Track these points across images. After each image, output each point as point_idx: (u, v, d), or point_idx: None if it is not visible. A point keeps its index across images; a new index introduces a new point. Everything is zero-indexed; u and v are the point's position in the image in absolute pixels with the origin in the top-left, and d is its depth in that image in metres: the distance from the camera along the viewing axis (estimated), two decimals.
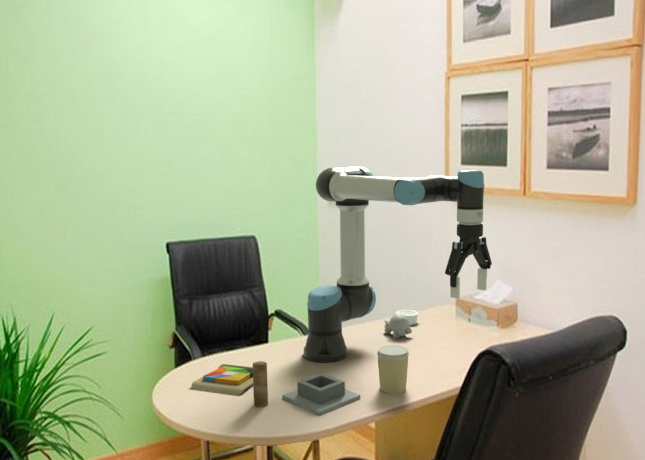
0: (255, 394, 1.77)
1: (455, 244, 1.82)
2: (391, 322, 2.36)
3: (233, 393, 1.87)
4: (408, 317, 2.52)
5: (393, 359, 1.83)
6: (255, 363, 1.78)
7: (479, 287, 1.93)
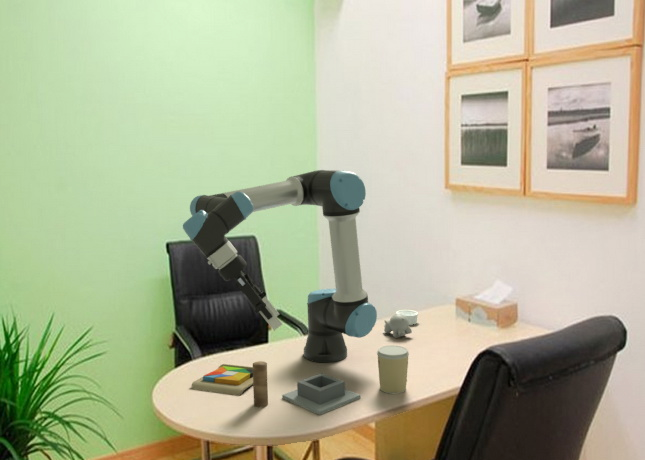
0: (255, 394, 1.77)
1: None
2: (391, 322, 2.36)
3: (233, 393, 1.87)
4: (408, 317, 2.52)
5: (393, 359, 1.83)
6: (255, 363, 1.78)
7: None
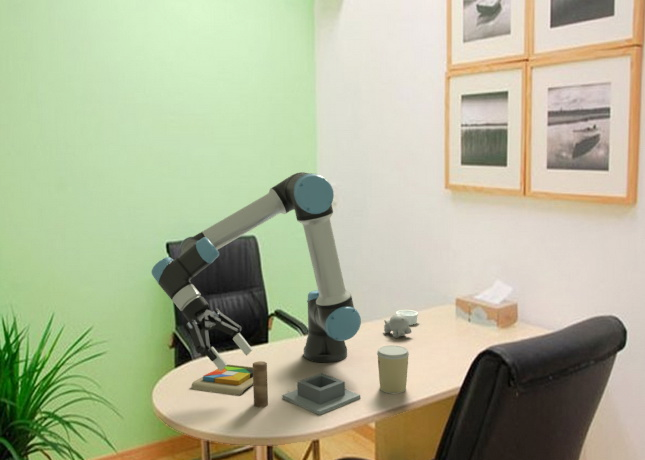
0: (255, 394, 1.77)
1: None
2: (391, 322, 2.36)
3: (233, 393, 1.87)
4: (408, 317, 2.52)
5: (393, 359, 1.83)
6: (255, 363, 1.78)
7: None
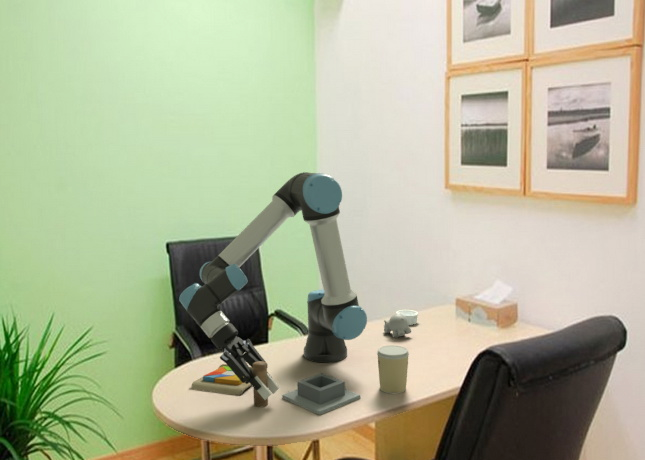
0: (255, 394, 1.77)
1: None
2: (390, 322, 2.36)
3: (233, 393, 1.87)
4: (408, 317, 2.52)
5: (393, 359, 1.83)
6: (255, 363, 1.78)
7: None
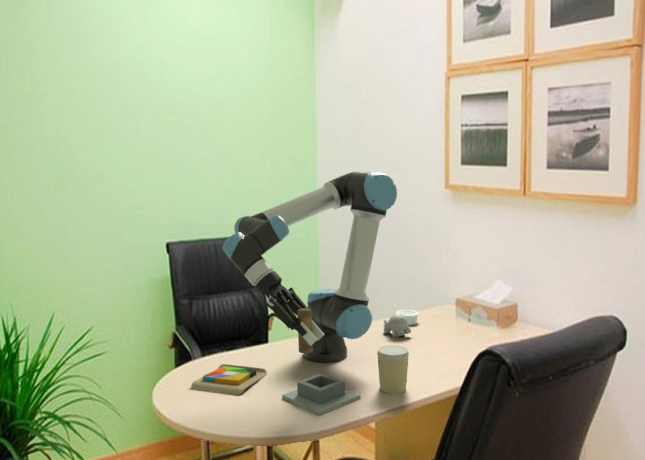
0: (300, 340, 1.78)
1: None
2: (390, 322, 2.37)
3: (233, 393, 1.87)
4: (408, 317, 2.52)
5: (393, 359, 1.83)
6: (300, 310, 1.78)
7: None
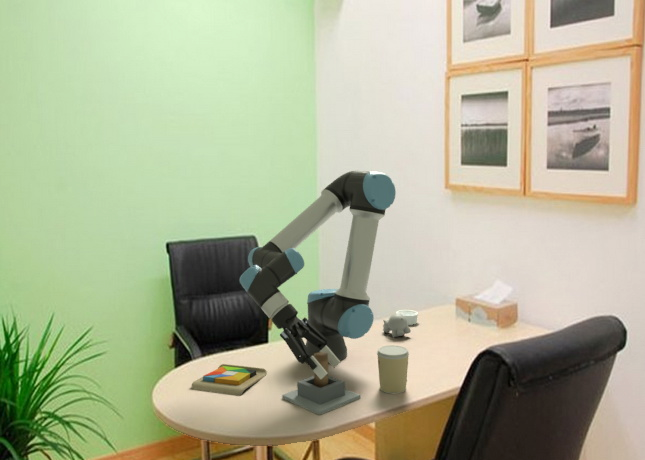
0: (316, 384, 1.81)
1: None
2: (390, 322, 2.37)
3: (233, 393, 1.87)
4: (408, 317, 2.52)
5: (393, 359, 1.83)
6: (316, 354, 1.82)
7: None
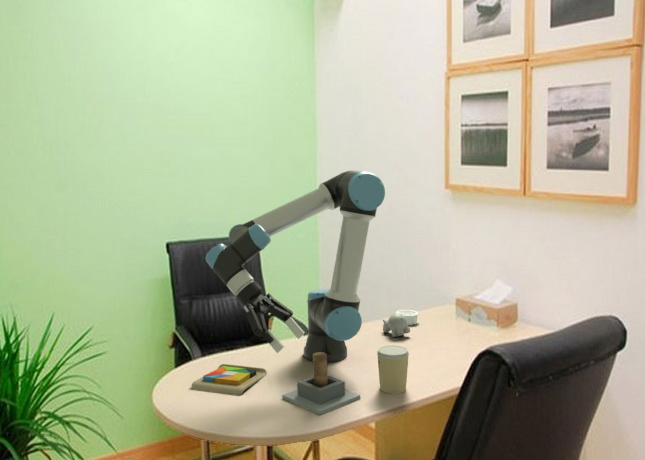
0: (316, 384, 1.81)
1: None
2: (390, 321, 2.37)
3: (233, 393, 1.87)
4: (408, 317, 2.52)
5: (393, 359, 1.83)
6: (315, 354, 1.81)
7: None
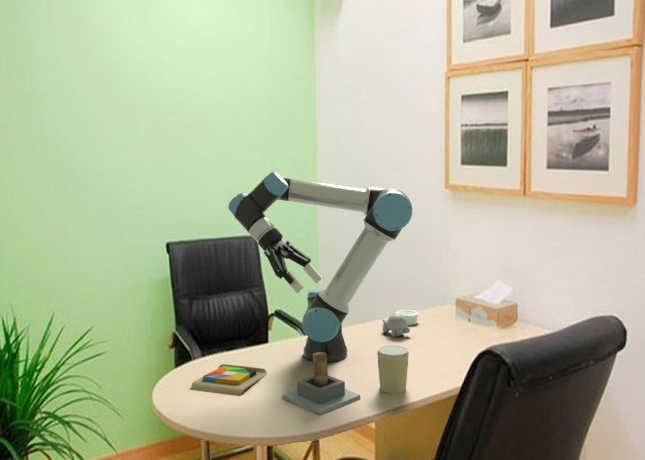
0: (316, 384, 1.81)
1: None
2: (389, 321, 2.37)
3: (233, 393, 1.87)
4: (408, 317, 2.52)
5: (393, 359, 1.83)
6: (315, 354, 1.82)
7: None
